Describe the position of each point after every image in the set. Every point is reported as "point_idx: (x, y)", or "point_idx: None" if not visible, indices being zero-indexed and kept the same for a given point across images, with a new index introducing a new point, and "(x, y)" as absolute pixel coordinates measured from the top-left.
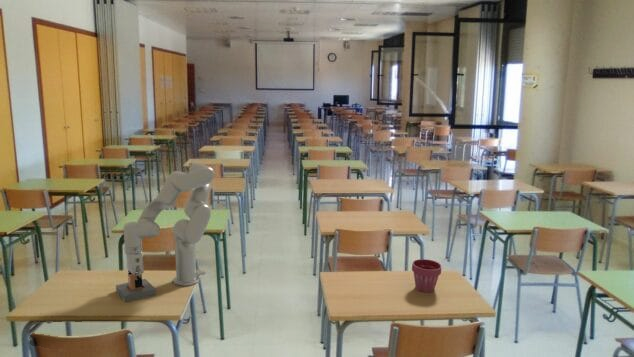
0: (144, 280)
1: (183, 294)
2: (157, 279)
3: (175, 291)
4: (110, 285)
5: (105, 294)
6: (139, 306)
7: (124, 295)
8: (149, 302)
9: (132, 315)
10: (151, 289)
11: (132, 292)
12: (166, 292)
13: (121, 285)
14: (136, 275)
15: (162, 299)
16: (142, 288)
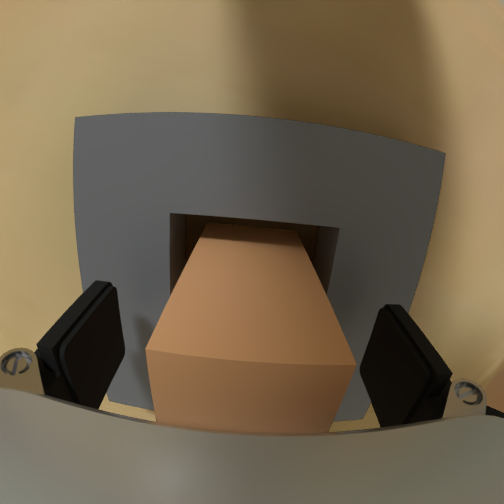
0: (114, 143)
1: (499, 17)
2: (80, 3)
3: (437, 4)
4: (27, 345)
5: (148, 418)
6: (465, 331)
7: (351, 419)
8: (476, 260)
9: (491, 377)
10: (434, 197)
11: (355, 370)
12: (421, 55)
13: (131, 380)
14: (284, 426)
15: (499, 163)
16: (344, 265)
